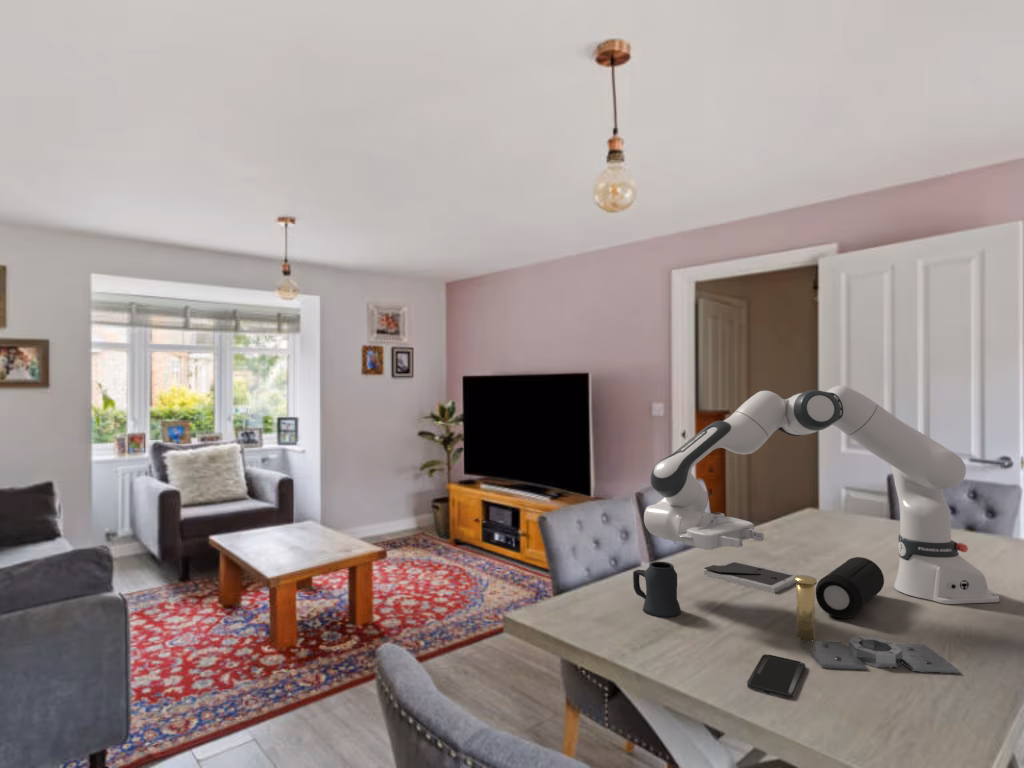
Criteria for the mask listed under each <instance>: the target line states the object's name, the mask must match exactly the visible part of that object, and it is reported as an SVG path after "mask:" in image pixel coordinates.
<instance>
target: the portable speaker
mask: <svg viewBox="0 0 1024 768" xmlns="http://www.w3.org/2000/svg"><path fill="white" fill-rule="evenodd" d="M884 585H885V576H884V574H883V571H882V570H881V568H880V567H879V565H878V564H877V563H875V562H874V561H872V560H871V559H869V558H867V557H862V556H855V557H851V558H849V559H847V560H846V561H845V562H843V563H842V564H841V565H839V566H838V567H836V568H835V569H833V570H832V571H831V572H829V573H828V574H826V575H825V576H823V577H822V578H821V579H820V580H819V581H818V582H817V584H816V586H815V599H816V602H817V603H818V605H819V607H820V609H822V611H824V612H825V613H826V614H828V615H830V616H831V617H832V616H833V617H836V618H840V619H847V618H851V617H854V616H855V615H857V614H858V613H859V612H860V611H861V610H862V609H863V608H864V607H865V606H866V605H867V604H868V603H869V602H870V601H871V600H873V599H874V597H875V596H877V594H879V593H880V592H881V590H882V589H883V587H884Z"/></svg>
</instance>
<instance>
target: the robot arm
mask: <svg viewBox="0 0 1024 768" xmlns="http://www.w3.org/2000/svg"><path fill="white" fill-rule="evenodd" d="M830 426H833V427H834V426H835V427H836V428H838V429H839V430H840V431H841V432H842V433H844V434H846V436H848V437H850V439H853V441H854V442H856V443H858V444H859V445H860V446H862V447H863V448H864V449H866V450H868V452H869V453H871V454H873V455H875V456H877V457H878V458H879V459H881V460H883V461H885V462H886V463H888V466H889V468H890V470H891V472H892V475H893V476H892V477H893V481H894V484H895V491H896V495H897V498H898V505H899V523H900V524H899V527H900V534H899V535H898V541H897V542H898V546H897V548H898V549H897V550H898V556H899V562H898V568H897V569H898V570H897V574H896V578H895V581H894V583H893V588H894V589H895V590H896V591H898V592H900V593H903V594H905V595H908V596H912V597H915V598H920V599H925V600H929V601H932V602H933V601H934V602H937V603H940V604H945V605H957V604H958V605H959V604H962V605H963V604H983V603H984V604H985V603H986V604H987V603H1000V597H999V595H998V594H996V592H994V591H993V590H990V589H989V587H988V582H987V579H986V576H985V575H984V573H983V572H982V570H980V569H979V568H977V567H975V565H973V564H972V563H970V562H969V561H967V559H965V558H964V557H962V555H960V554H959V552H961V553H967V551H969V547H968V545H966V544H965V543H963V542H956V541H954V540H953V539H952V515H951V513H952V512H951V509H950V506H949V504H948V503H947V501H946V498H945V496H944V491H943V490H948V489H953V488H955V487H958V485H959V486H960V484H961V483H963V481H964V479H965V477H966V472H967V469H966V464H965V462H964V460H963V459H962V458H961V457H960V456H959V455H957V453H955V452H954V451H952V450H950V449H948V448H946V447H945V446H943V445H942V444H940V443H939V442H937V441H936V440H934V439H933V438H931V437H929V436H927V435H926V434H924V433H922V432H921V431H919V430H917V429H915V428H913V427H912V426H910V425H908V424H907V423H905V422H904V421H902V420H900V419H899V418H898V417H896V416H895V415H893V414H892V413H890V412H889V411H888V410H886V409H885V408H883V407H882V406H880V405H879V404H878V403H876V402H875V401H873V400H872V399H871V398H869V397H867V396H866V395H864V394H862V393H861V392H859V391H857V390H855V389H852V387H849V386H846V385H842V384H841V385H840V384H839V385H835V386H833V387H831V388H829V389H827V391H823V390H818V389H811V390H807V391H803V392H799V393H796V394H794V395H792V396H791V397H788V398H786V399H784V398H782V397H781V396H780V395H779V394H777V393H775V392H773V391H770V390H760V391H758V392H756V393H755V394H754V395H752V396H751V397H749V398H748V399H747V400H746V401H744V403H742V404H741V405H740V406H739V407H738V408H737V409H736V410H735V411H734V412H733V413H732V414H731V415H730V416H729V417H727V418H725V419H724V420H716V421H713V422H711V423H709V424H708V425H706V427H704V428H703V429H701V430H700V431H699V432H697V433H696V434H695V435H694V436H692V437H691V438H690V439H689V440H688V441H686V442H685V443H684V444H683V445H682V446H680V447H679V448H678V449H677V450H676V451H674V452H673V453H671V454H670V455H668V456H666V457H665V458H662V459H661V460H660V461H658V462H657V463H656V464H655V465H654V466H653V468H652V470H651V474H650V485H651V487H652V488H653V489H654V490H655V491H656V492H657V493H658V494H659V495H661V497H663V498H662V499H660V500H659V501H658V502H656V503H654V504H650V505H648V506H646V508H645V510H644V513H643V522H644V523H643V524H644V525H645V528H646V530H647V531H648V532H649V533H650V534H651V535H653V536H655V537H656V538H660V539H663V540H667V541H671V542H681V543H682V544H685V545H687V546H691V547H695V548H698V549H702V550H707V551H708V550H709V551H711V550H712V551H713V550H715V549H718V548H722V547H733V548H736V549H737V548H738V549H739V548H741V547H743V541H746V540H749V539H753V540H754V541H757V542H761V541H763V540H765V534H764V533H763V532H761V531H757V530H755V524H754V523H752V522H751V521H748V520H745V519H741V518H737V517H733V516H732V517H731V516H725V513H723V512H707V511H705V509H706V508H707V505H708V501H709V495H708V493H707V491H706V490H705V488H704V487H703V486H702V484H701V483H700V482H699V480H698V479H697V478H695V475H693V473H692V469H693V467H694V466H695V465H697V464H698V463H699V462H700V461H702V460H703V459H704V458H705V457H707V456H708V455H709V454H710V453H712V451H714V450H717V449H721V448H722V449H725V450H727V451H728V452H731V453H733V454H738V455H750V454H753V453H755V452H756V451H757V450H759V449H760V448H761V447H762V446H764V444H765V443H766V442H767V441H768V440H769V438H770V437H771V436H772V435H773V433H774V432H776V431H777V430H778V431H780V432H782V433H784V434H786V435H788V436H793V437H800V436H806V435H812V434H814V433H816V432H819V431H824V430H825V429H827V428H830Z"/></svg>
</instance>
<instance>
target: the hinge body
mask: <svg viewBox="0 0 1024 768" xmlns="http://www.w3.org/2000/svg"><path fill="white" fill-rule="evenodd" d="M801 644H802V645H801ZM800 645H801V646H802V647H803V649H805V650H806V651H807V653H808V654H809V655H810V656H811V658H813V660H814V659H815V660H814V661H815V662H816V663H817V664H818V665H819V666H821V667H822V669H833V668H836V670H837V669H838V670H842V669H843V670H857V669H861V670H863V671H866V670H867V669H866V668H867V667H866V665H868V666H870V665H871V666H870V667H873V666H874V668H878V667H897V666H898V665H899V666H900V665H902V664H903V663H904V664H905V665H904V664H903V665H904V666H906V667H907V666H908V667H909V668H910V669H911V670H912V671H911V670H910V669H909V668H908V667H907V668H908V669H909V670H910V671H911V672H913V671H924V672H923V673H928V672H940V673H939V674H951V673H955V674H956V675H957V674H959V668H957V667H956V666H954V665H953V664H952V663H951V662H949V661H947V660H946V659H945V658H944V657H942V656H941V655H939V654H938V653H937V652H935V651H934V650H932V648H930V647H928V646H927V645H926V644H917V643H916V644H915V643H914V644H913V643H894V642H892V641H889V640H885V639H883V638H880V637H875V636H854V637H853V638H850V640H848V647H847V646H846V645H845V644H844V643H843V642H842V641H833V640H813V641H812V640H801V639H800ZM902 662H903V663H902ZM864 663H865V664H864ZM901 663H902V664H901ZM899 666H898V667H899ZM821 667H820V668H821ZM898 667H897V668H898ZM955 674H954V675H955Z"/></svg>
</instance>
